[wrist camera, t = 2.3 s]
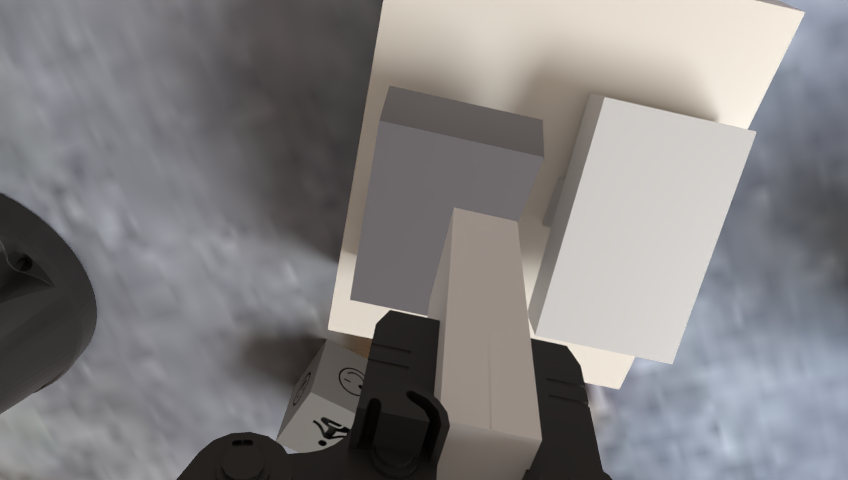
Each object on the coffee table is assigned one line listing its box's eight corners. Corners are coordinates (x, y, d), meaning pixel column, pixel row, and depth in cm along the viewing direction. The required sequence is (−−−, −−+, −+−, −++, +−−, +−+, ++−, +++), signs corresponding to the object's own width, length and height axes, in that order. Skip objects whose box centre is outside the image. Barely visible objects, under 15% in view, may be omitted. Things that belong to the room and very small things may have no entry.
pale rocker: (526, 313, 29) (534, 335, 27) (589, 93, 26) (604, 96, 24) (653, 339, 29) (672, 364, 27) (728, 124, 27) (756, 131, 24)
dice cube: (393, 371, 43) (384, 427, 39) (358, 415, 45) (345, 473, 41) (327, 338, 42) (310, 392, 38) (294, 385, 44) (275, 441, 40)
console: (346, 268, 39) (323, 344, 33) (412, -101, 29) (395, -93, 23) (599, 321, 40) (623, 405, 34) (750, -20, 30) (823, 10, 23)
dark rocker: (359, 262, 31) (349, 299, 30) (389, 85, 24) (379, 120, 23) (479, 287, 32) (476, 326, 30) (542, 119, 25) (544, 157, 23)
